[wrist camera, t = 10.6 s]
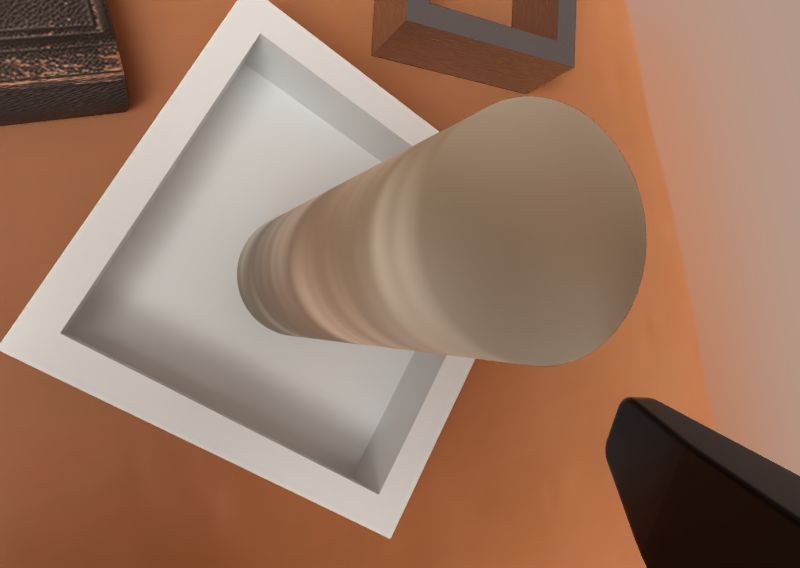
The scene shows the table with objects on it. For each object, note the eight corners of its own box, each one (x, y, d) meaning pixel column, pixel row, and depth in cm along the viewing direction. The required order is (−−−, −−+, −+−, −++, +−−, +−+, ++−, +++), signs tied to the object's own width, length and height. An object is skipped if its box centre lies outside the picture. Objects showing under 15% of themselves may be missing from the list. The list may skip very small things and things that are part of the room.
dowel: (351, 339, 22) (642, 370, 10) (232, 332, 20) (418, 361, 9) (358, 222, 22) (649, 123, 11) (241, 207, 21) (434, 68, 9)
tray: (355, 512, 22) (390, 539, 20) (12, 345, 18) (-4, 349, 16) (497, 224, 25) (544, 212, 23) (230, 28, 21) (247, -16, 19)
